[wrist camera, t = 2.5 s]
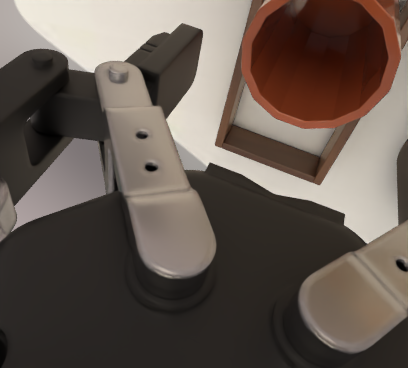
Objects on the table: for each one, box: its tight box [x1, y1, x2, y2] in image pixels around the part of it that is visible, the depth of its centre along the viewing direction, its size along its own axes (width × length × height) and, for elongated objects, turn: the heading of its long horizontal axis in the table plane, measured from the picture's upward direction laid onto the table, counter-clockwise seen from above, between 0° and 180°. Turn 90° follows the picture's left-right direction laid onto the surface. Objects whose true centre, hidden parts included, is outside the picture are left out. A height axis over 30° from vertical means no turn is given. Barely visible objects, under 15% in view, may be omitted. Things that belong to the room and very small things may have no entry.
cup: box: [241, 0, 401, 129], centre depth 18 cm, size 6×6×10 cm
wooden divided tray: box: [215, 0, 408, 185], centre depth 23 cm, size 16×8×2 cm, turn 170°
